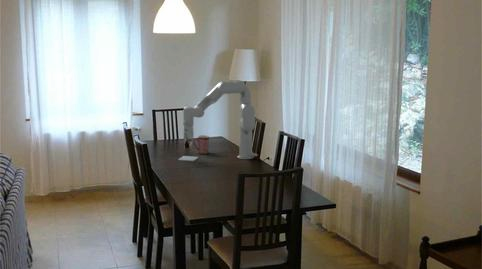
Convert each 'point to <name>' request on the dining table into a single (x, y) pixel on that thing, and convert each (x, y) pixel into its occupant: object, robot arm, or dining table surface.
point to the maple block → (189, 144)
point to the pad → (188, 158)
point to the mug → (202, 144)
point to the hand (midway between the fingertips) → (188, 147)
